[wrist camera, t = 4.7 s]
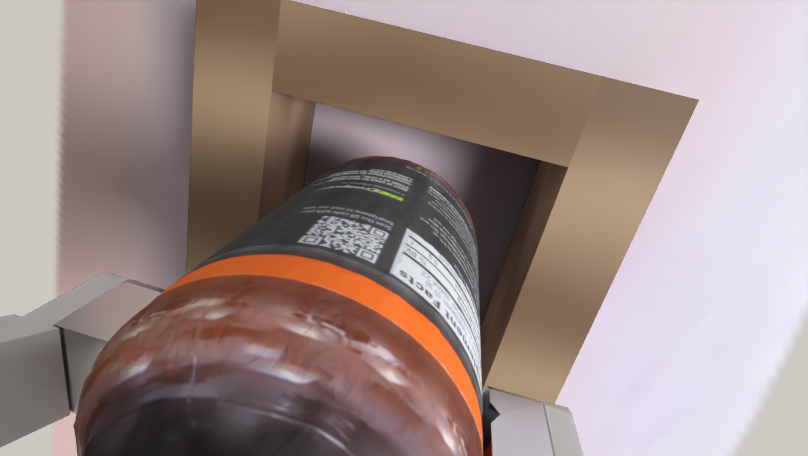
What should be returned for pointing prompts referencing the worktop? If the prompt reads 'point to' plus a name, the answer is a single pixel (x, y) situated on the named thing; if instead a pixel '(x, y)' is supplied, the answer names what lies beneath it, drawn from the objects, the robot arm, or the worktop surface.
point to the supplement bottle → (308, 334)
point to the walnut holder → (447, 115)
